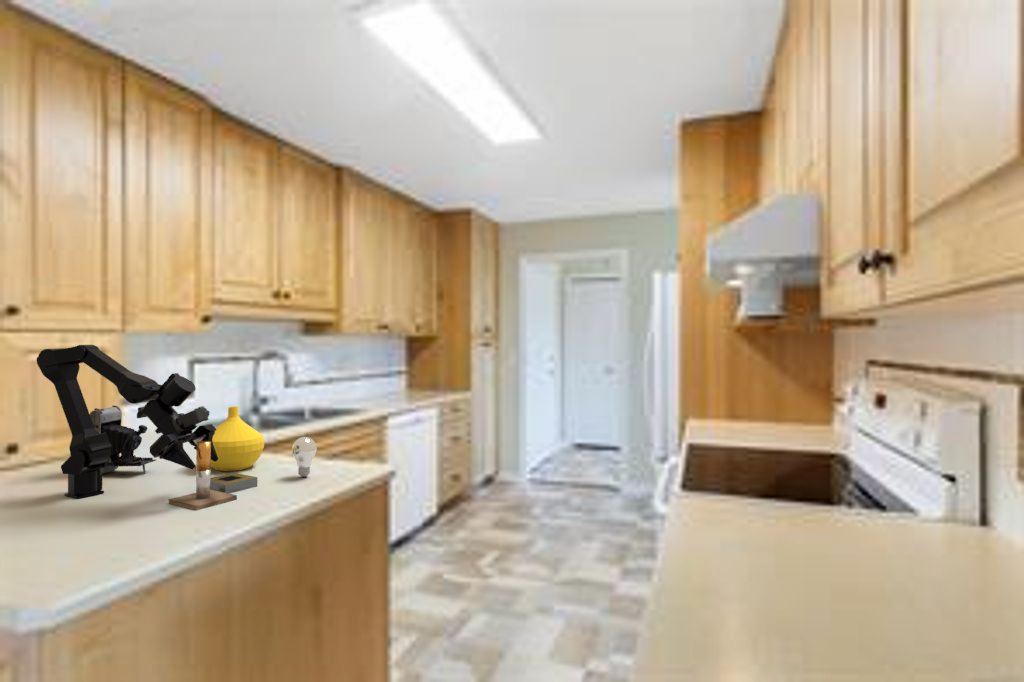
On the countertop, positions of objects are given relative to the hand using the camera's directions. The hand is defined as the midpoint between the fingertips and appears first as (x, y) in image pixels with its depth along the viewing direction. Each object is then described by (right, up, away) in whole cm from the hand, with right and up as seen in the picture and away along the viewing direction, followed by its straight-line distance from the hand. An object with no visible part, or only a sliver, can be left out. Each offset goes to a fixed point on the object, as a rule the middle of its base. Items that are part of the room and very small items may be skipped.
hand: (205, 464), depth 152 cm
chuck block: (0, -9, +14) cm, 17 cm away
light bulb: (+16, -10, +27) cm, 32 cm away
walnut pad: (-1, -9, 0) cm, 9 cm away
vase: (-10, -9, +37) cm, 40 cm away
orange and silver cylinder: (-1, -8, 0) cm, 8 cm away
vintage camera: (-38, -9, +27) cm, 48 cm away
